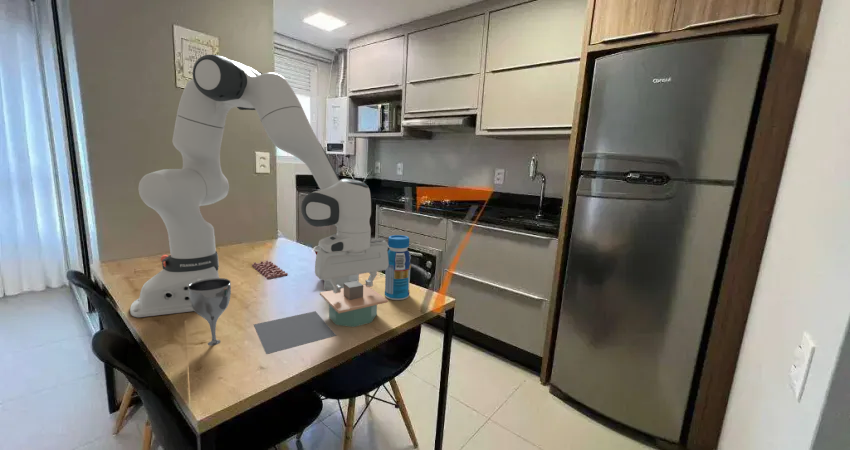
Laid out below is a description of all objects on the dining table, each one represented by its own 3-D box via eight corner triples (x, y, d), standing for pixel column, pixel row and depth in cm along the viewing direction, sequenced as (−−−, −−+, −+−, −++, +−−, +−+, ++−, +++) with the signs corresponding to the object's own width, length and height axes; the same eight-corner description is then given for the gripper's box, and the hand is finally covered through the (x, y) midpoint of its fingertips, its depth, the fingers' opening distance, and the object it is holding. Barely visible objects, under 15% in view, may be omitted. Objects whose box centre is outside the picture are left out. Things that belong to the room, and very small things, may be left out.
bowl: (341, 332, 87) (341, 311, 86) (324, 314, 97) (324, 294, 95) (382, 322, 94) (383, 301, 93) (363, 306, 103) (363, 287, 102)
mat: (266, 357, 75) (266, 354, 75) (253, 327, 88) (253, 324, 88) (336, 338, 84) (336, 335, 84) (315, 313, 97) (315, 311, 97)
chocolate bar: (268, 280, 122) (267, 275, 122) (252, 267, 136) (251, 262, 136) (288, 277, 127) (288, 272, 127) (270, 264, 141) (270, 259, 140)
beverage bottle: (379, 297, 111) (380, 237, 107) (392, 289, 118) (394, 233, 114) (401, 303, 107) (404, 241, 103) (414, 294, 115) (416, 236, 111)
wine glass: (205, 337, 82) (201, 277, 79) (240, 337, 83) (236, 278, 80) (185, 355, 74) (180, 290, 72) (223, 355, 75) (219, 290, 72)
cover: (338, 313, 84) (338, 297, 84) (319, 294, 96) (319, 280, 95) (387, 302, 93) (388, 287, 92) (365, 285, 104) (365, 273, 103)
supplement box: (348, 294, 112) (349, 250, 109) (323, 291, 113) (323, 248, 111) (359, 285, 121) (359, 244, 118) (335, 282, 122) (335, 241, 120)
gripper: (382, 234, 100) (381, 279, 102) (312, 241, 88) (313, 292, 90) (393, 239, 95) (392, 286, 97) (320, 247, 83) (321, 300, 85)
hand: (353, 289), depth 94 cm, fingers open, 8 cm apart
